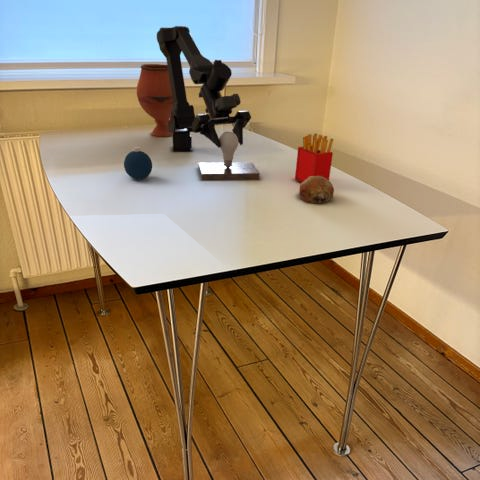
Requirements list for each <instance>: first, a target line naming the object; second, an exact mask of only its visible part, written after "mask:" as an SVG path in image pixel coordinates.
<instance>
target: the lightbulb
mask: <svg viewBox="0 0 480 480" xmlns="http://www.w3.org/2000/svg"><path fill="white" fill-rule="evenodd" d="M218 138H219V140H220V144H221V147H220V148H219V149H220V150H221V153H222V159H223V163H224V166H226V167H227V168H229V167H231V166H232V163H233V160H234V155H235V152H236V150H237V148H238V146H239V142H238V138H237V136H236V135H235V134H234V133H233V131H224V132H222V133H221V134H220V136H219V137H218Z"/></svg>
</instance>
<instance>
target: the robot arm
mask: <svg viewBox="0 0 480 480" xmlns="http://www.w3.org/2000/svg"><path fill="white" fill-rule="evenodd" d="M156 41H157V44H158V47H159V50H160V52H161V54H162V55H163V56H164V58H165V60H166V65H167V66H168V72H169V78H170V84H171V91H172V97H173V106H172V109H171V112H170V113H171V118H170V119H169V122H168V124H167V129H168V132H170V133H172V136H171V138H172V145H171V148H172V152H192V149H193V138H192V137H193V136H192V135H191V133H195V134H197V133H199V134H200V135H202V136H204V137H205V138H206V139H208V140H210V142H212V144H214V145H215V146H216V147H217V148H219V149H221V148H220V147H221V144H220V140H219V138H220V137H219V135H218V132H217V130H216V126H221V125H232V131H231V132H233V133H234V134H235V135H236V136H237V138H238V145H240V146H242V145H243V144H244V129H245V128H246V127H247V125H248V123H249V122H250V121H251V119H252V115H251V113H250V111H249V110H237V111H236V113H235V115H234V116H230V115H231V114H232V113H233V110H234V109H235V108H237V107H238V106H239V105H241V97H240V95H239V94H238V93H232V94H230V95H224V96H223V95H222V93H221V92H222V91H224V89H225V88H226V86H227V84H228V82H229V81H230V79H231V78H232V73H233V72H232V68H230V67H229V66H228V65H227V64H226V63H224V62H222V59H214V60H213V63H212V61H211V60H210V59H209V58H206V57H205V56H203V54H202V52H201V51H200V49H199V47H198V46H197V44H196V42H195V40H194V38H193V37H192V34H191V31H190V28H189V27H188V26H186V25H175V26H172V27H160V28H159V30H158V31H157V32H156ZM181 54H183V56H184V57H185V60H186V62H187V63H188V65H189V70H188V73H189V77H190V79H191V81H192V83H193V84H194V85H201V87H200V88H199V93H198V98H200V99H201V98H202V100H203V102H204V104H205V107H206V108H205V110H204V111H205V113H198V114H196V115H195V108H194V105H193V104H190V103H189V101H188V98H187V97H188V96H187V90H186V86H185V79H184V78H185V77H184V71H183V67H182V59H181Z"/></svg>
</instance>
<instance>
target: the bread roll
mask: <svg viewBox="0 0 480 480" xmlns="http://www.w3.org/2000/svg"><path fill="white" fill-rule="evenodd" d="M298 192H299V193H298V195H299V199H300V200H301V201H303V202H306V203H310V204H318V205H319V204H320V205H321V204H326V203H328V202H330V201H331V200H332V199H333V197H334V194H335V191H334V185H333V183H332V182H331V181H330V179H329V180H328V179H326V178H324V177H322V176H309V177H308V179H306V180H305V181H304V182H302V183H301V182H300V185H299V191H298Z"/></svg>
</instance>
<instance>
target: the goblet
mask: <svg viewBox="0 0 480 480" xmlns="http://www.w3.org/2000/svg"><path fill="white" fill-rule="evenodd" d="M136 97H137V100H138V103H139V105H140V107H141V108H142V110H143V111H144V112H145V113H146V114H147V115H148V116H149V117H151V118H153V119H154V123H155V124H156V125H155V127H154V128H153V129H152V132H151V134H152V135H153V136H155V137H172V133H170V132H168V129H167V124H168V122H169V120H170V118H171V113H170V112H171V109H172V106H173V97H172V91H171V84H170V78H169V72H168V66H167V64H159V63H144V64H141V65H140V73H139V78H138V82H137V86H136Z"/></svg>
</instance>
